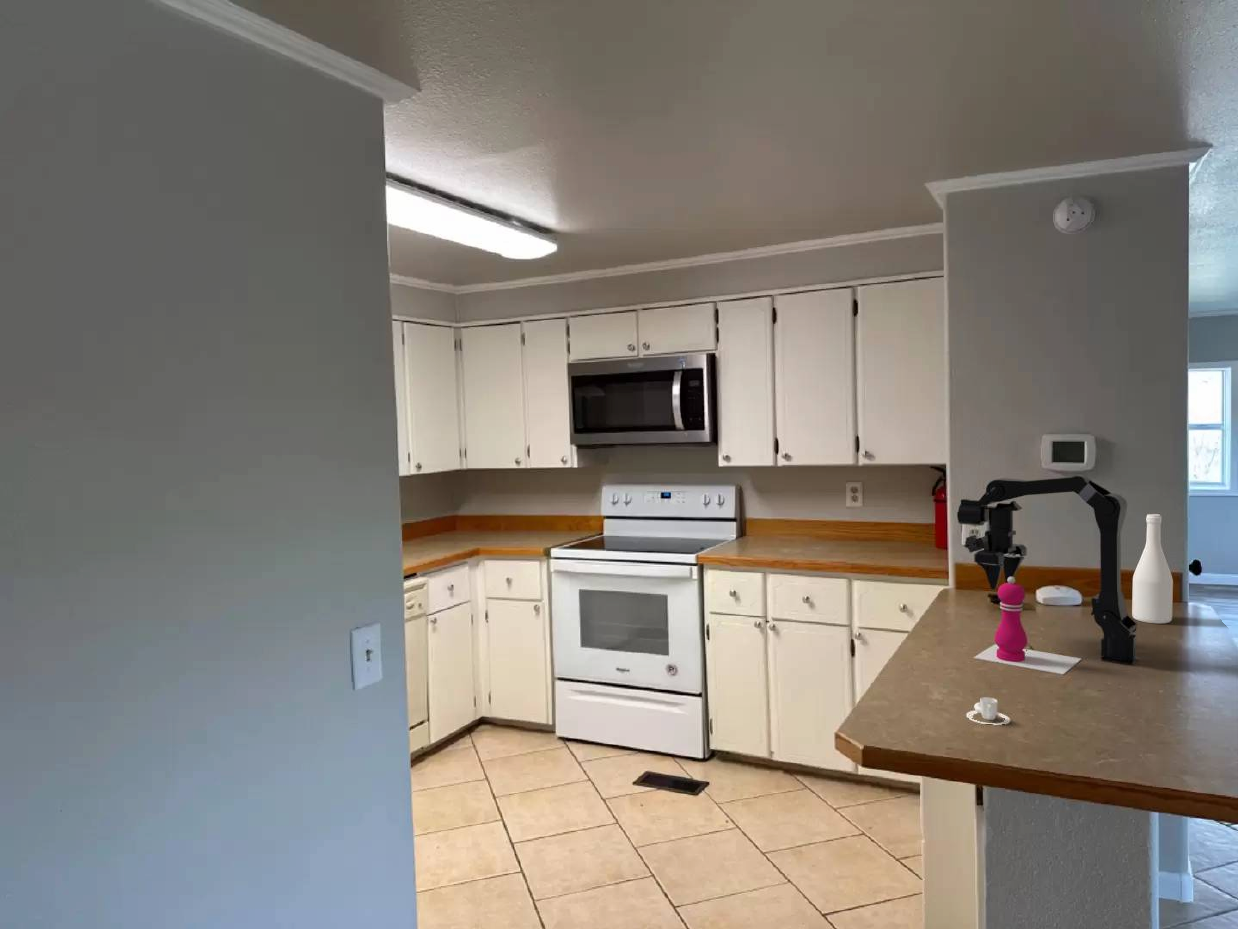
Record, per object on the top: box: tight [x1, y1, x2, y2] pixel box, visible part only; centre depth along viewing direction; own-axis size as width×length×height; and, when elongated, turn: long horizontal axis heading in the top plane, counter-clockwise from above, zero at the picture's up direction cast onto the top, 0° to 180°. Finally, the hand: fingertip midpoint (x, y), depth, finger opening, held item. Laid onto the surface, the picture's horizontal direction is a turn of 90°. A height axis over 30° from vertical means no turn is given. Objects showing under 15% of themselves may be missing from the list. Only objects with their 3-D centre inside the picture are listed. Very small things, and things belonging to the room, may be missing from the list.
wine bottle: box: [1131, 513, 1174, 624], centre depth 234 cm, size 10×10×30 cm
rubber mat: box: [973, 643, 1082, 675], centre depth 202 cm, size 20×15×1 cm
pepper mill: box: [994, 576, 1028, 662], centre depth 202 cm, size 7×7×20 cm
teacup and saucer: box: [965, 696, 1011, 726], centre depth 165 cm, size 9×8×4 cm
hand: (1000, 586), depth 218 cm, fingers open, 9 cm apart
